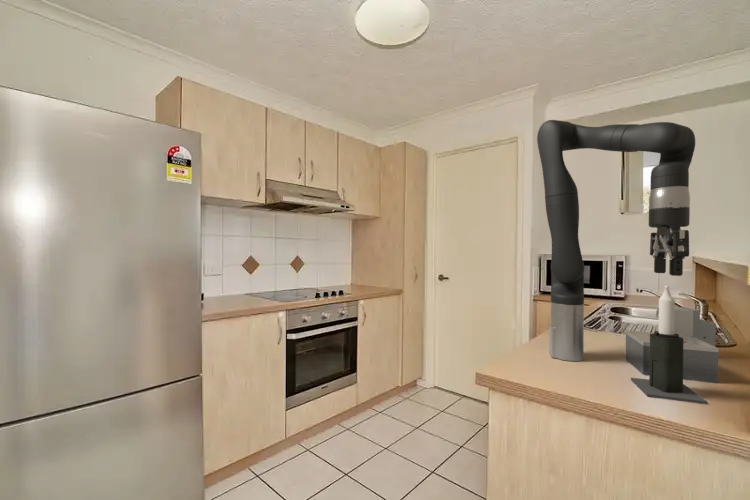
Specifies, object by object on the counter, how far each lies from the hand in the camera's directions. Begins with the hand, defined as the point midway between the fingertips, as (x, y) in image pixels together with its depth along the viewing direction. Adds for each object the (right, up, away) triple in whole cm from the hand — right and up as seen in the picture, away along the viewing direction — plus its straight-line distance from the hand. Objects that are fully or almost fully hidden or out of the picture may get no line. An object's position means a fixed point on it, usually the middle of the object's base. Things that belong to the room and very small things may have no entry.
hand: (667, 274), depth 83 cm
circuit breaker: (+32, -29, +30) cm, 52 cm away
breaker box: (+13, -28, +15) cm, 34 cm away
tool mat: (0, -28, 0) cm, 28 cm away
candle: (0, -28, 0) cm, 28 cm away
